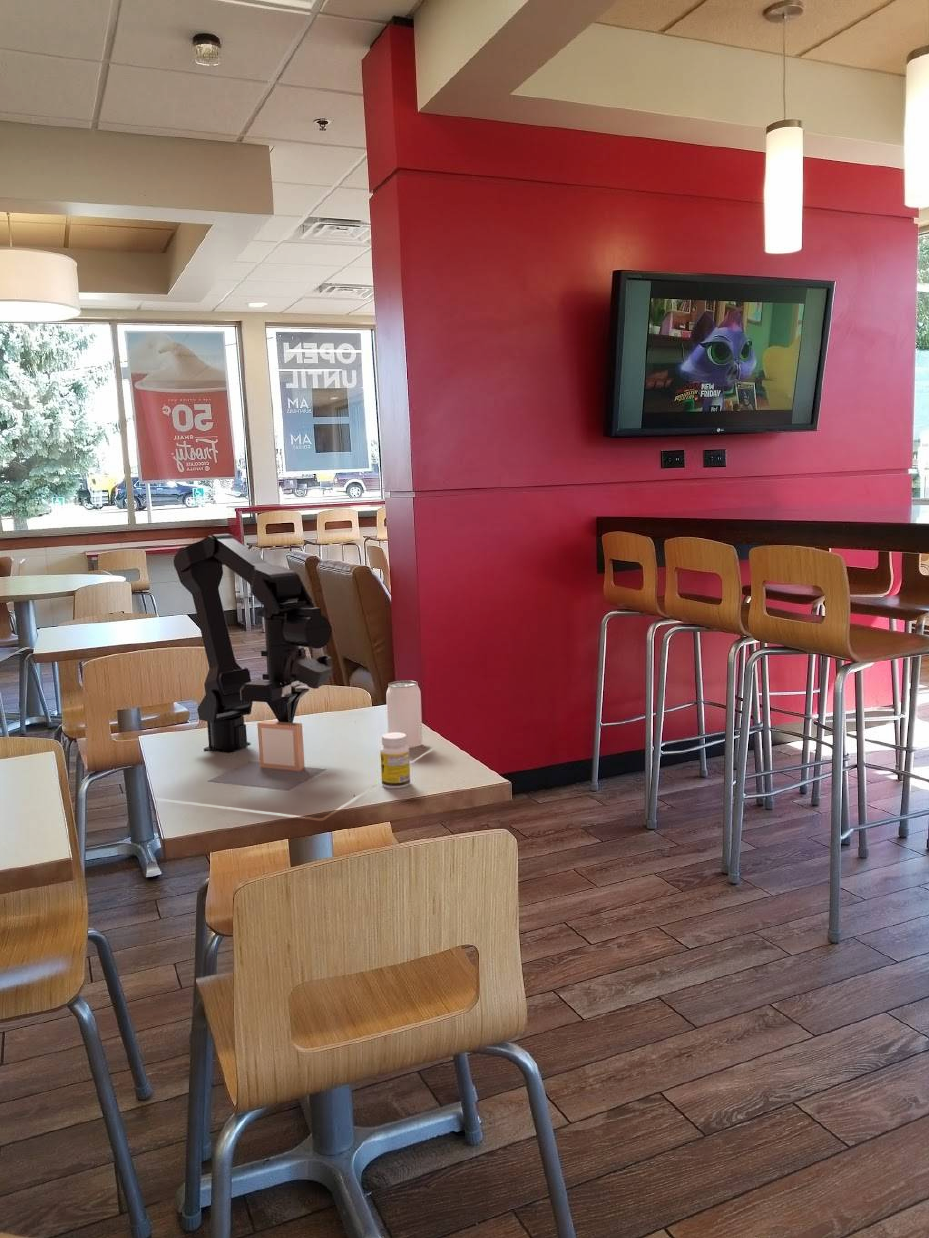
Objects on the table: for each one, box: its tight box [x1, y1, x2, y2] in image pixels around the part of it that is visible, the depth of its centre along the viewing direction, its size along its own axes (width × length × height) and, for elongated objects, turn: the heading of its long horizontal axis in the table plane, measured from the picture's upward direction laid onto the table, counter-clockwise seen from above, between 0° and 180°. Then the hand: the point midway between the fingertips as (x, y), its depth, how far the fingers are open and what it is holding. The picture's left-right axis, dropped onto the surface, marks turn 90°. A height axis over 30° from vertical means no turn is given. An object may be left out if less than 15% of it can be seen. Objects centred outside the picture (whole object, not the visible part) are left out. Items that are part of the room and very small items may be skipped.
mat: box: [208, 761, 327, 791], centre depth 161 cm, size 16×12×1 cm
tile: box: [256, 720, 306, 771], centre depth 164 cm, size 8×2×8 cm, turn 68°
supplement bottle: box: [379, 732, 411, 790], centre depth 154 cm, size 5×5×8 cm
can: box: [385, 680, 423, 749], centre depth 177 cm, size 6×6×12 cm
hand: (287, 730), depth 166 cm, fingers closed
